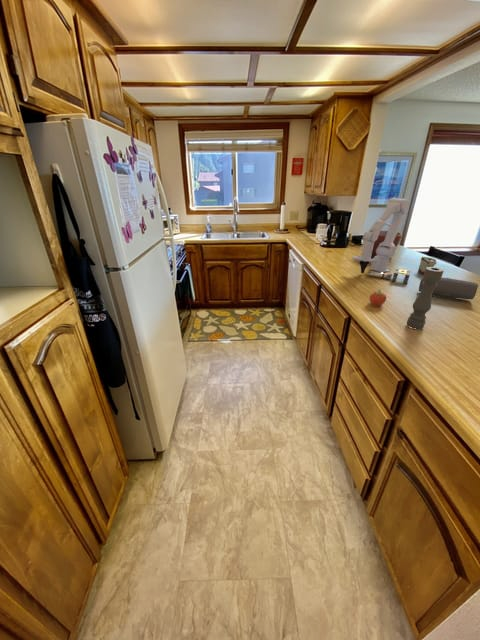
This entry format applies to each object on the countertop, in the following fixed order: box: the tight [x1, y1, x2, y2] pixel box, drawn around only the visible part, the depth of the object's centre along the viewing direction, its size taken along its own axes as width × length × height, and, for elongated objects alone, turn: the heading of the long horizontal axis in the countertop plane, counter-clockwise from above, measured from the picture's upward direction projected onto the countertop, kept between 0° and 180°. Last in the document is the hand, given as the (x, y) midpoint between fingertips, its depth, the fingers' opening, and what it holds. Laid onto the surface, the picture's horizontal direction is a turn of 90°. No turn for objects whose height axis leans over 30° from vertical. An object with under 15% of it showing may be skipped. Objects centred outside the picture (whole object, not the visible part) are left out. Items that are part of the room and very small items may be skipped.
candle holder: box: [406, 266, 445, 330], centre depth 105 cm, size 6×6×25 cm
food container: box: [417, 256, 437, 277], centre depth 166 cm, size 12×6×10 cm, turn 168°
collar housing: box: [391, 268, 412, 285], centre depth 157 cm, size 8×9×6 cm
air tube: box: [367, 270, 393, 280], centre depth 164 cm, size 13×3×3 cm, turn 57°
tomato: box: [369, 289, 387, 307], centre depth 128 cm, size 7×7×8 cm
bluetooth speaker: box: [418, 276, 479, 301], centre depth 135 cm, size 23×9×10 cm, turn 59°
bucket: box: [371, 222, 403, 260], centre depth 198 cm, size 24×22×25 cm
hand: (362, 272), depth 169 cm, fingers closed
